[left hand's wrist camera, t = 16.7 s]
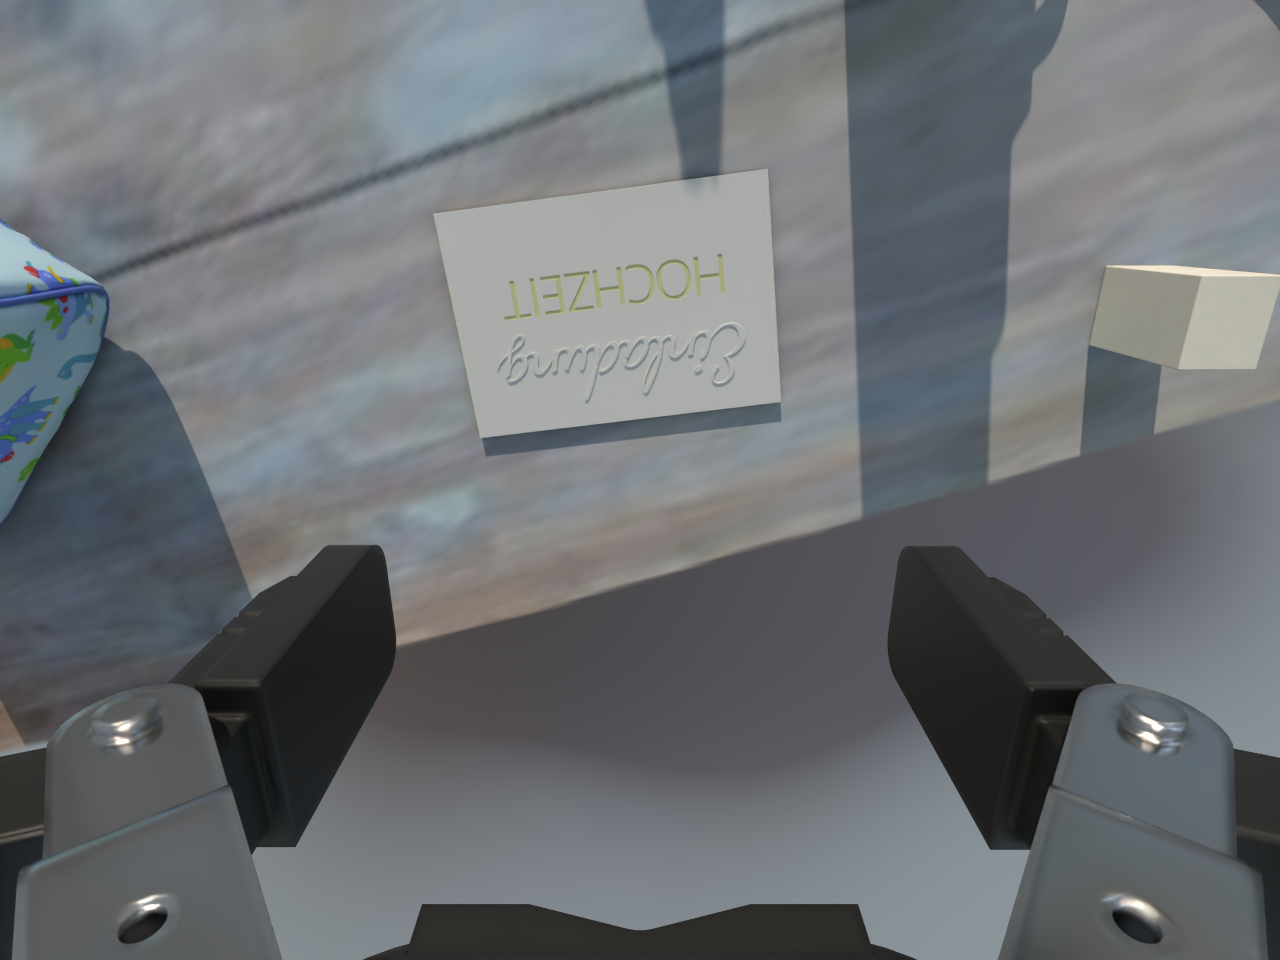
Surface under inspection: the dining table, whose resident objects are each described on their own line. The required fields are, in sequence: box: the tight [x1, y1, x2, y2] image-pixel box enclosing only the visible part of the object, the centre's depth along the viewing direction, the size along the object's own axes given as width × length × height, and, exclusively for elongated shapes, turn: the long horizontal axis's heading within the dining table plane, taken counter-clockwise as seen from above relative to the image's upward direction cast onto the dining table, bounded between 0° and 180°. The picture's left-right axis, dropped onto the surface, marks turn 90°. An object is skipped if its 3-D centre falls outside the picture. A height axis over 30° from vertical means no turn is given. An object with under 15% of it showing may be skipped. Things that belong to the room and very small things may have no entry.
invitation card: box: [433, 169, 781, 438], centre depth 48 cm, size 21×1×15 cm
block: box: [1089, 266, 1280, 370], centre depth 44 cm, size 4×5×9 cm
